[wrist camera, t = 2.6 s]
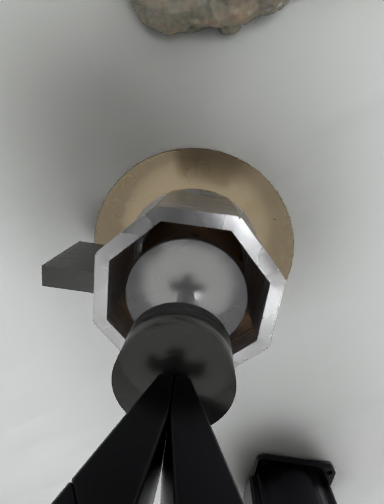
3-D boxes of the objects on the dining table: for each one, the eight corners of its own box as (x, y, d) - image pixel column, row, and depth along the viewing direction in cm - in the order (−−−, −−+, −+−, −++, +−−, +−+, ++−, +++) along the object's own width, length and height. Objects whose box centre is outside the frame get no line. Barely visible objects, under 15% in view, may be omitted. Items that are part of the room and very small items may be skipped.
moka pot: (315, 164, 17) (386, 167, 10) (268, 347, 21) (298, 435, 14) (97, 134, 17) (27, 118, 10) (92, 323, 21) (40, 398, 14)
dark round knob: (256, 245, 12) (295, 313, 7) (234, 350, 14) (252, 469, 9) (132, 228, 12) (75, 281, 7) (125, 335, 14) (75, 444, 9)
